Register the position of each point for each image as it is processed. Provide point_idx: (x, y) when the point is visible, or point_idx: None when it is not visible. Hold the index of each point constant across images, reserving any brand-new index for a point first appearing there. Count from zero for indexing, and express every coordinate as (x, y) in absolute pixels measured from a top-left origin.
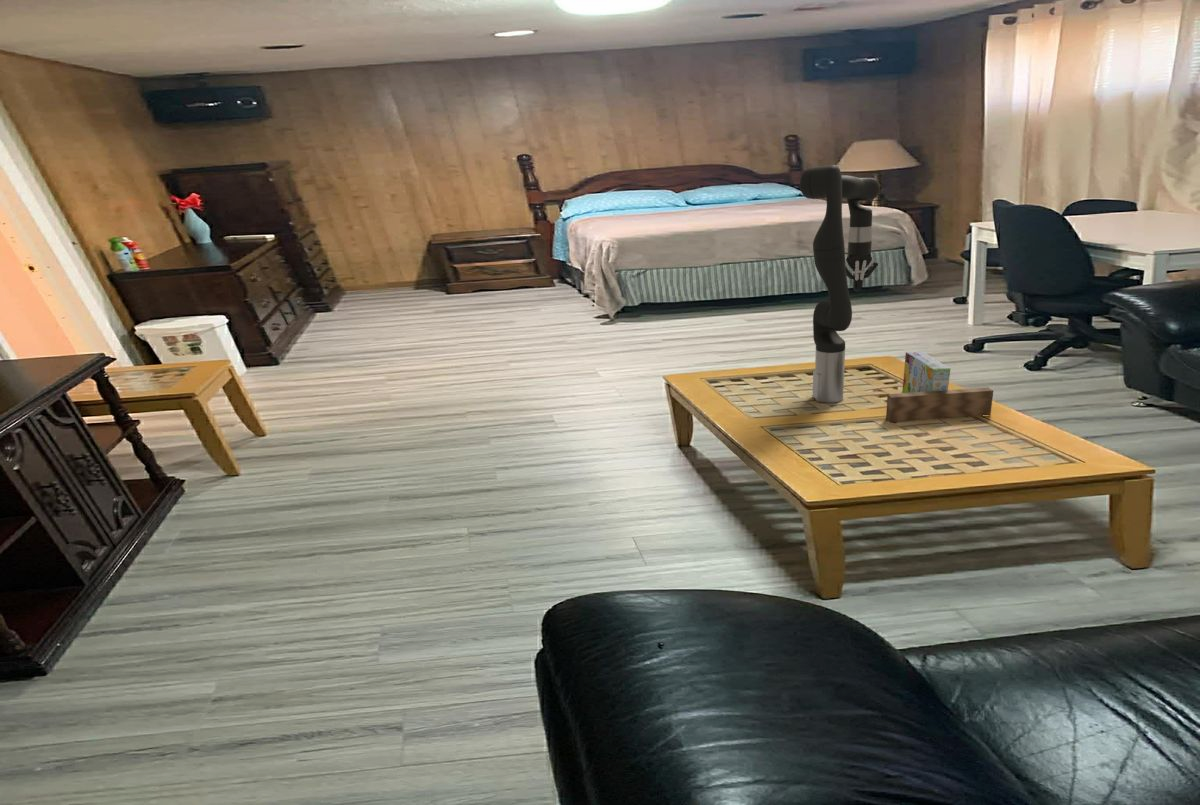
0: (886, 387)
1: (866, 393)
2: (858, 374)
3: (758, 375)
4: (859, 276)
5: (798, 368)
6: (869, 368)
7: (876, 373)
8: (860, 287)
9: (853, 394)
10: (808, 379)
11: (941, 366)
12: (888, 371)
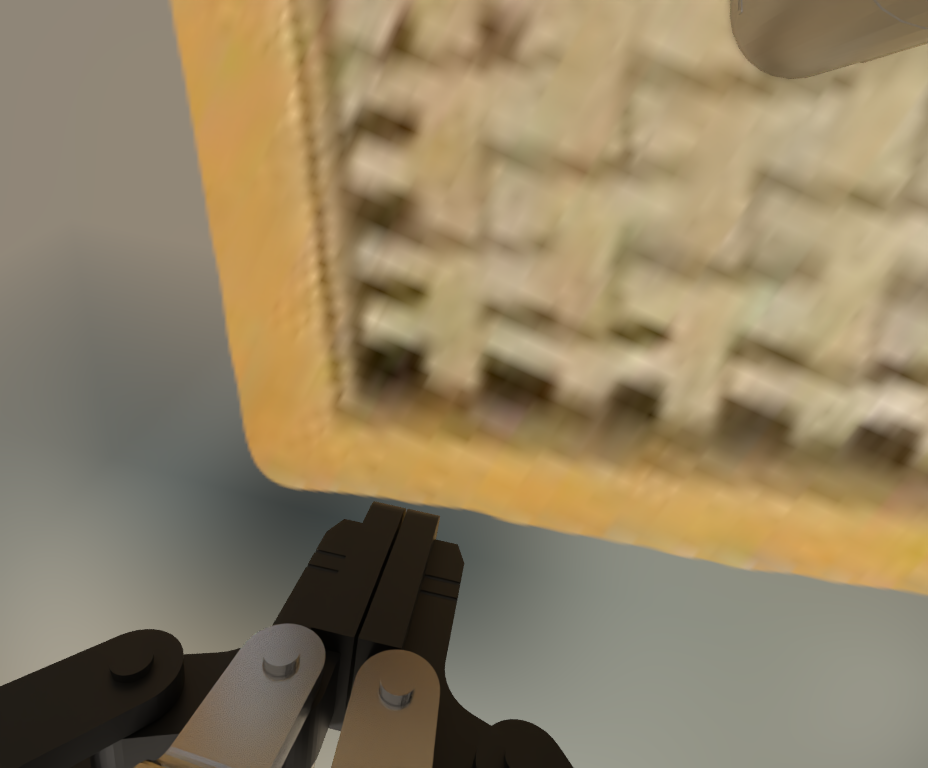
0: (434, 65)
1: (576, 5)
2: (453, 308)
3: (865, 481)
4: (290, 754)
5: (642, 490)
6: (369, 364)
7: (374, 288)
8: (366, 528)
9: (646, 15)
10: (699, 336)
11: None
12: (314, 293)
